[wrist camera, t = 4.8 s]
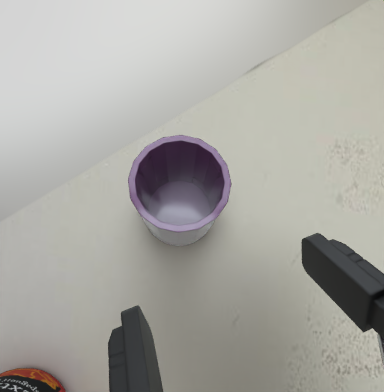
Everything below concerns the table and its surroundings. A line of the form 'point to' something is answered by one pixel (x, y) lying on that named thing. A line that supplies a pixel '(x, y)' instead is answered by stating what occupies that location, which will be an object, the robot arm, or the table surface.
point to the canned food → (29, 381)
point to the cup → (179, 188)
